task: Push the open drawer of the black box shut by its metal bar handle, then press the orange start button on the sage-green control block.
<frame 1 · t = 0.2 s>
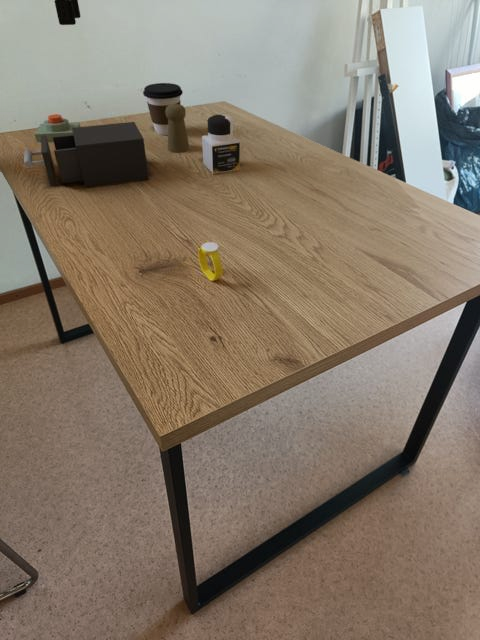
hand: (70, 21, 95), 30 cm above the table, tool pointing down, fingers open, 9 cm apart
olive brown pawn: (178, 149, 123), on the table
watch: (210, 277, 77), on the table
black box: (114, 173, 109), on the table
coffee cup: (166, 132, 133), on the table
drawer: (66, 158, 104), point 5 cm above the table, slide at 6.0 cm
control block: (59, 135, 130), on the table
start button: (55, 119, 127), point 4 cm above the table, slide at 0.1 cm
medicine bottle: (221, 168, 113), on the table
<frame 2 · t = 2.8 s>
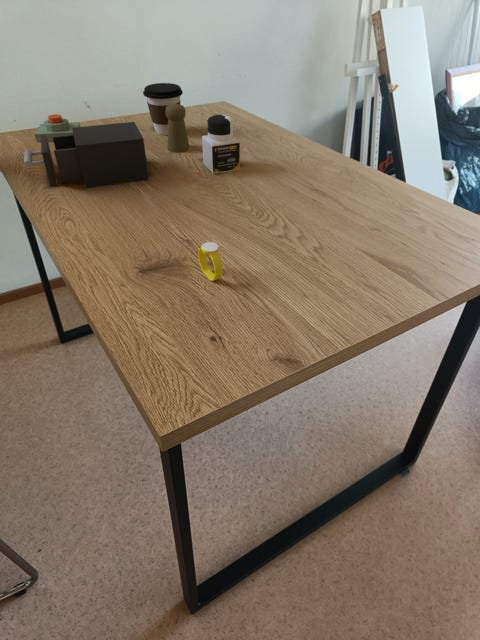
nothing on the table moved.
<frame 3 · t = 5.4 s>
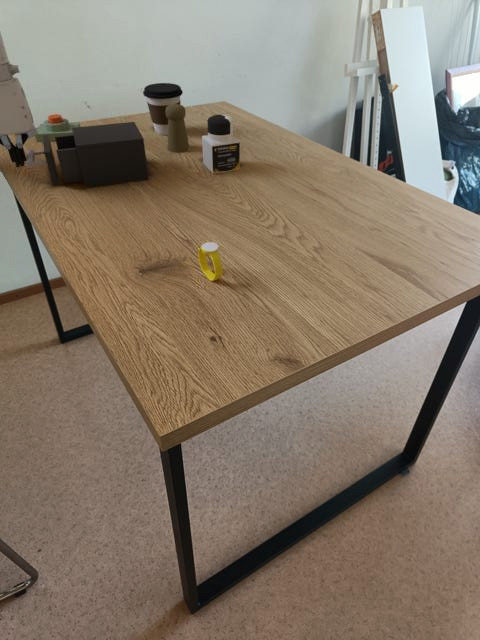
hand: (20, 164, 101), 5 cm above the table, tool pointing down, fingers closed
drawer: (69, 158, 104), point 5 cm above the table, slide at 5.5 cm, touching gripper
everything else where it was.
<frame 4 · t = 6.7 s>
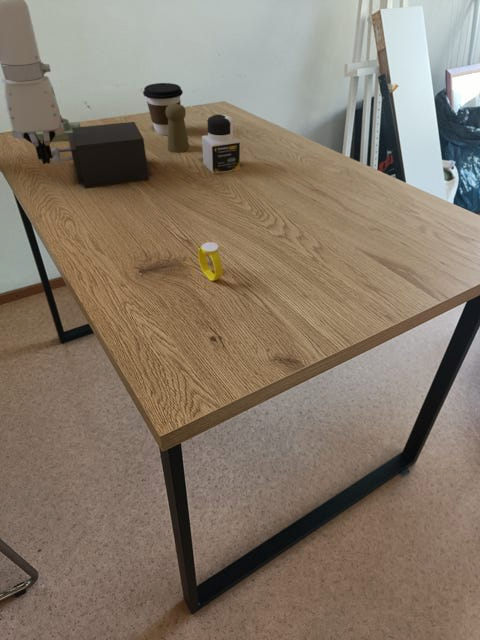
hand: (46, 161, 103), 5 cm above the table, tool pointing down, fingers closed
drawer: (93, 155, 105), point 5 cm above the table, slide at 0.0 cm, touching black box, gripper
everything else where it was.
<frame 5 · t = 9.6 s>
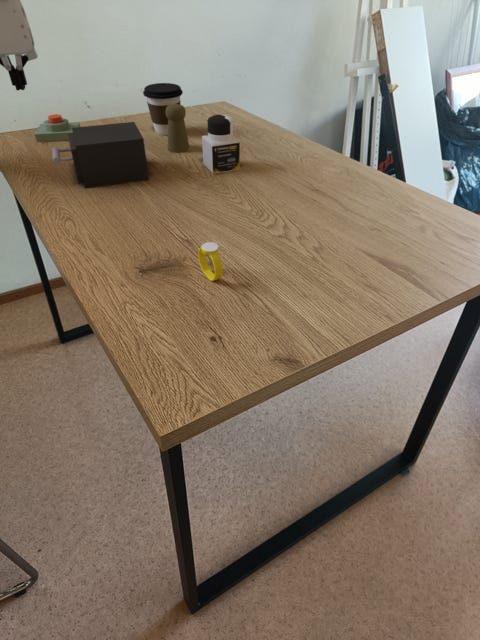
hand: (21, 88, 103), 17 cm above the table, tool pointing down, fingers closed
drawer: (93, 155, 105), point 5 cm above the table, slide at 0.0 cm, touching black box
everything else where it was.
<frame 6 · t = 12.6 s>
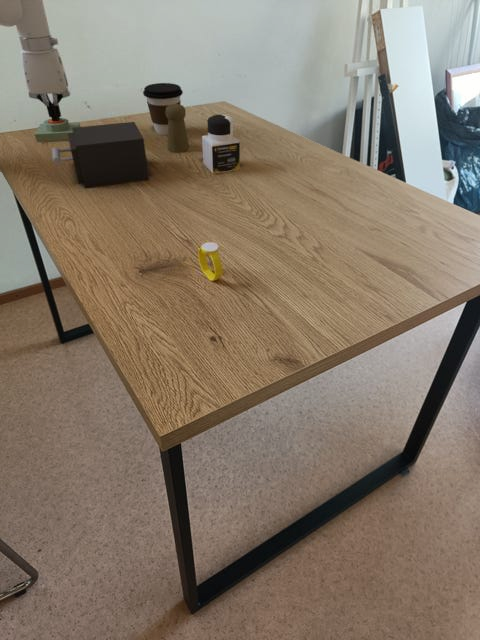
hand: (56, 119, 127), 4 cm above the table, tool pointing down, fingers closed
start button: (56, 123, 127), point 4 cm above the table, slide at -0.8 cm, touching gripper
everything else where it was.
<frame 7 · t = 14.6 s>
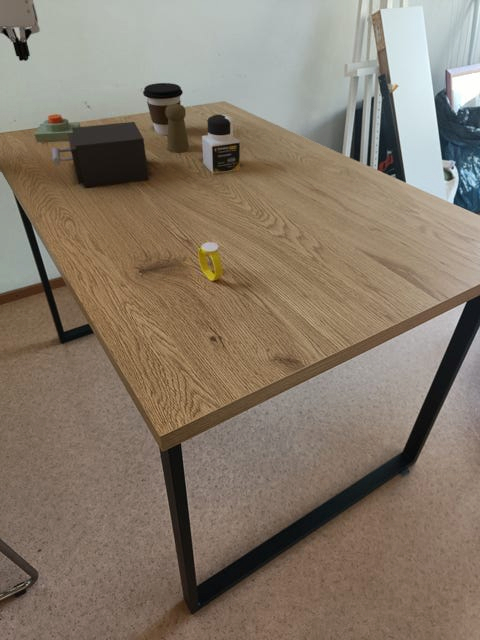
hand: (24, 59, 114), 20 cm above the table, tool pointing down, fingers closed
start button: (55, 119, 127), point 4 cm above the table, slide at 0.1 cm
everything else where it was.
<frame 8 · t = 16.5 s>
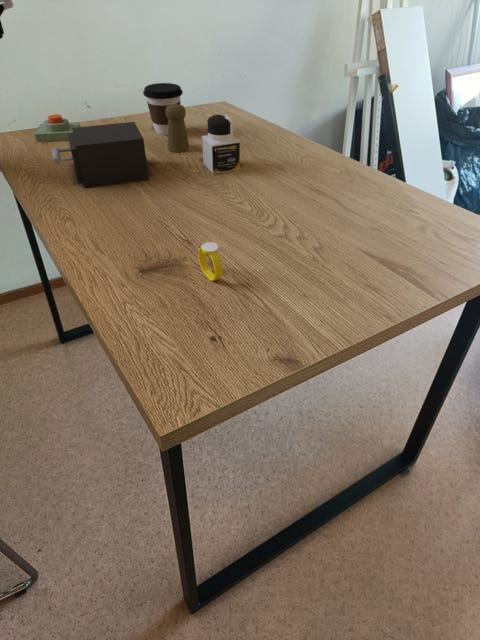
nothing on the table moved.
at the end: drawer slide at 0.0 cm; start button pushed in 1.1 cm at the most during the clip, back to where it started at the end; start button slide at 0.1 cm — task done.
